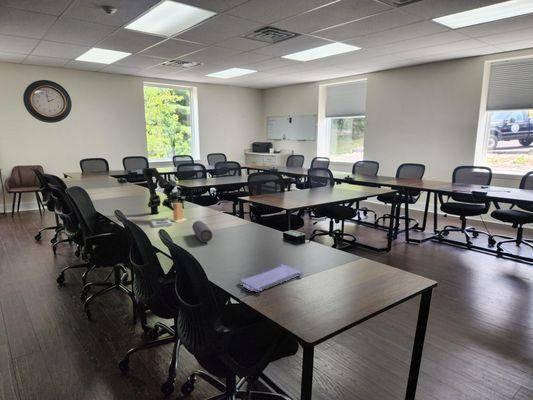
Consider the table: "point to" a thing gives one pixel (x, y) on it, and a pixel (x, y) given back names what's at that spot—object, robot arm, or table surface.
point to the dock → (160, 222)
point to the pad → (178, 220)
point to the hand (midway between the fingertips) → (178, 209)
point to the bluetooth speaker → (202, 231)
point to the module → (178, 211)
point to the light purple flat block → (269, 277)
